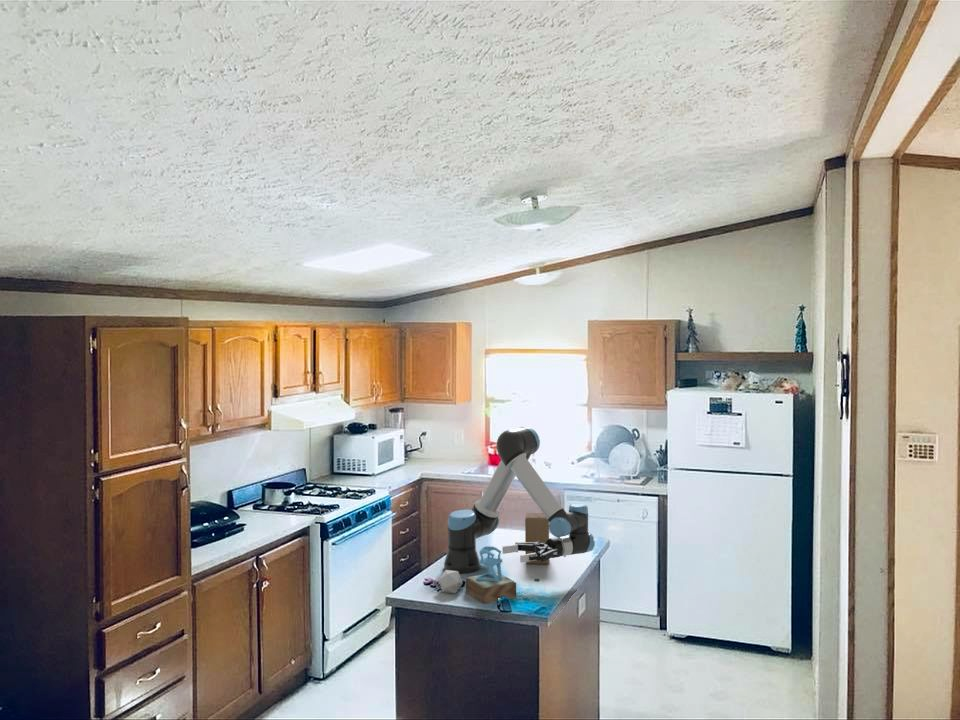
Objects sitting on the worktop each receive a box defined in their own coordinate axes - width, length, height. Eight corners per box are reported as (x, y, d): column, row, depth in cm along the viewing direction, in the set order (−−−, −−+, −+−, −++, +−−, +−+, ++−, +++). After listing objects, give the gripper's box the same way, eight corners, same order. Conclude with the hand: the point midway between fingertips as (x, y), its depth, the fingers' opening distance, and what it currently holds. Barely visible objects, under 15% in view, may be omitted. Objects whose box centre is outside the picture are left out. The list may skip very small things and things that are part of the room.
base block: (483, 603, 278) (483, 587, 277) (465, 592, 290) (465, 577, 290) (516, 597, 284) (516, 581, 284) (497, 586, 297) (497, 571, 296)
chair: (494, 583, 281) (494, 551, 281) (475, 580, 286) (475, 548, 286) (505, 578, 288) (505, 546, 288) (486, 574, 292) (486, 543, 292)
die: (447, 598, 286) (462, 577, 286) (430, 584, 289) (446, 563, 290) (454, 599, 293) (469, 579, 294) (438, 585, 297) (453, 565, 298)
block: (549, 558, 335) (548, 512, 334) (549, 564, 325) (548, 518, 324) (526, 557, 336) (526, 512, 335) (525, 564, 326) (525, 517, 325)
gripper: (576, 564, 290) (528, 573, 280) (541, 548, 312) (495, 556, 302) (576, 544, 290) (528, 552, 280) (541, 530, 312) (495, 537, 302)
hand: (511, 554), depth 291 cm, fingers open, 13 cm apart
